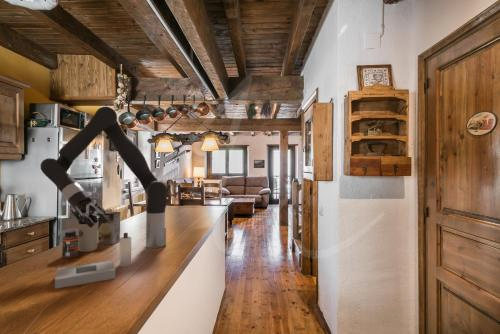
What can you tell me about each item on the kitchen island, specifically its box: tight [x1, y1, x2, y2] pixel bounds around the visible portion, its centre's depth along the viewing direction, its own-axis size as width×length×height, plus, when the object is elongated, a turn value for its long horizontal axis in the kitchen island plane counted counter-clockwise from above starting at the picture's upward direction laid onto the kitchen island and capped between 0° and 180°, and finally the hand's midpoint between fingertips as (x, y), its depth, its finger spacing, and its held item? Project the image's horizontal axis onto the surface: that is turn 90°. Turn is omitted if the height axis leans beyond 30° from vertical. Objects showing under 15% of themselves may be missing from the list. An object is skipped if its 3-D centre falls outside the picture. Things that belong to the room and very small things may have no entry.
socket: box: [54, 260, 116, 290], centre depth 103 cm, size 18×12×3 cm, turn 121°
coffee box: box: [97, 210, 121, 245], centre depth 152 cm, size 9×6×16 cm
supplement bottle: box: [61, 230, 79, 259], centre depth 127 cm, size 6×6×11 cm
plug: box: [118, 232, 132, 268], centre depth 117 cm, size 4×4×13 cm
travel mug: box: [78, 215, 99, 253], centre depth 137 cm, size 8×8×18 cm
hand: (99, 224), depth 119 cm, fingers open, 8 cm apart
